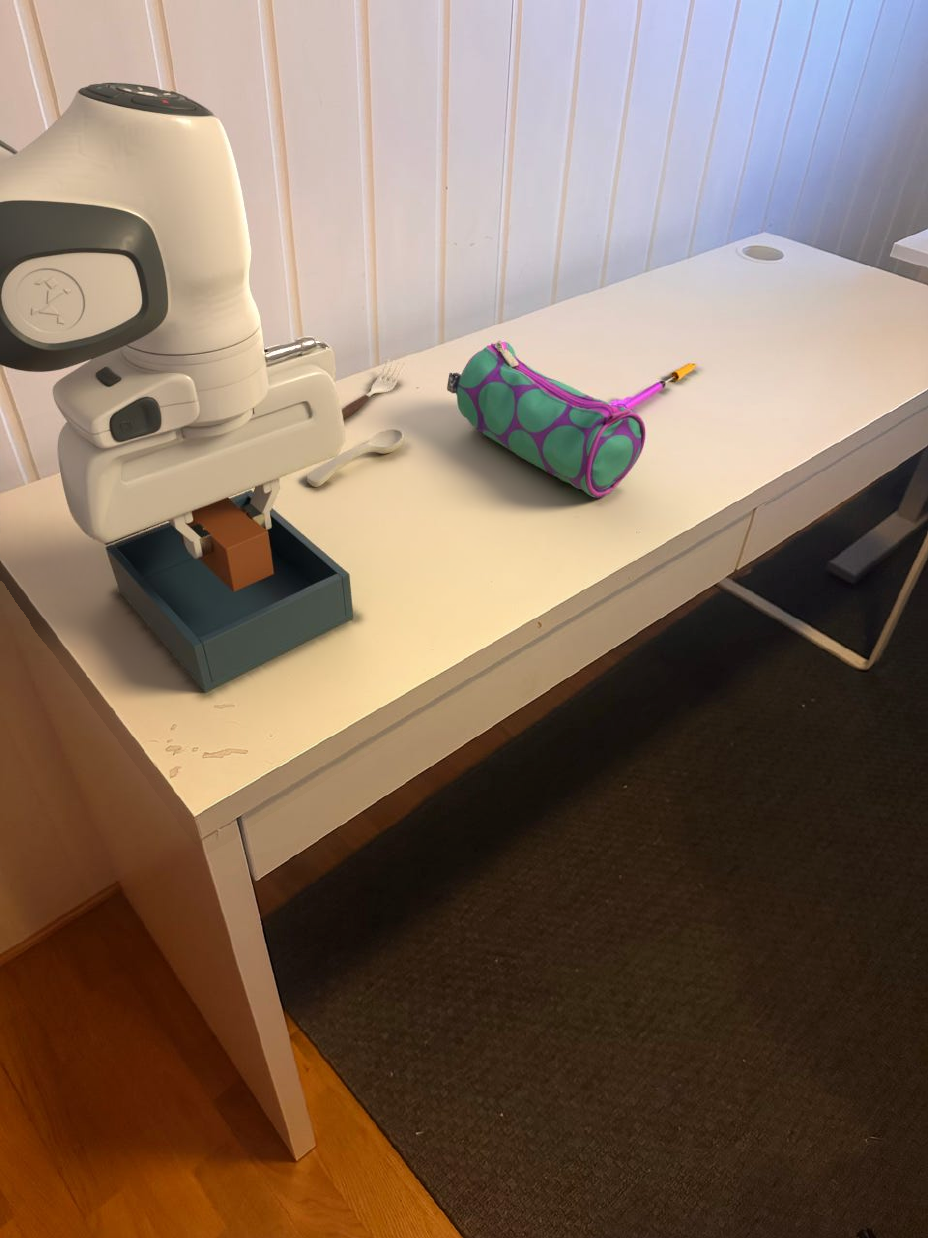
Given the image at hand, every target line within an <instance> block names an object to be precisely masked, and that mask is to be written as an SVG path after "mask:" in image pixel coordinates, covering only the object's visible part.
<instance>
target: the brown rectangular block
mask: <svg viewBox="0 0 928 1238" xmlns="http://www.w3.org/2000/svg"><path fill="white" fill-rule="evenodd" d="M229 498H230V497H228V498H225V499H223V500H220V501H217V502H215V503H212V504H210V505H207V506H204V507H202V508H199V509H196V510H194V511H191V512H192V517H193V521H192V522H190V523H188V524H187V523H186V524H187V525H188V526H189V527H192V526H195V525H197V524H201V525H202V526H203V527H204V530H207V531H208V532H209V533H210V534H211V537H212V544H211V545H212V546H213V548H214V552H212V553H209V554H207V555H205V556H202V557H199V559H200V560H201V561H202V562H203V563H204V564H205V565H206V566H207V567H208V568H209V569H210V570H211V571H212V572H213V573H215V574H216V575H217V576H218V577H219V578H220V579H221V580H222V581H223V582H224V583H225V584H226V585H227V586H228V587H229V588H230V589H231V590H232V591H233V592H235V591H238V590H240V589H242V588H244V587H246V586H248V585H251V584H253V583H255V582H257V581H259V580H262V579H264V578H266V577H268V576H270V575H273V574H274V571H273V564H272V557H271V550H270V543H269V536H268V531H267V530H265V529H264V528H263V527H262V526H261V525H260V524H258V523H257V522H256V521H255V520H254V519H252V518H251V517H250V516H248V514H247V513H245V512H244V511H243V510H242V509H241V508H240V507H238V506H237V505H236V504H235V503H234V502H233V501H231V500H230V499H229ZM180 534H181V533H180ZM181 539H182V543H183V544H184V545H185V542H184V538H183V534H181Z"/></svg>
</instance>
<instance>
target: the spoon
mask: <svg viewBox="0 0 928 1238" xmlns="http://www.w3.org/2000/svg"><path fill="white" fill-rule="evenodd" d="M404 436H405V435H404V433H403V432H402V431H401V430H399V429H393V428H392V429H391V428H390V429H385V430H383V431H380V432H378V433H376V434H374V435H373V436H372V437H371V438H370V440H369V441H367V442H365V443H362V444H360V445H357V446H355V447H353V448H351V449H348V450H346V451H343V452H342V453H339V455H337V456H336V457H333V458H331V459H329V461H327V462H326V463H323V464H322V465H321V466H318V467H317V468H314V469H313V470H312V471H310V472H309V473H307V475H306V481H307V483H308V484H309V485H310V486H311V487H313V488H318V487H321V486H322V485H323V484H325V482H327V481H328V480H329V479H331V477H332V476H334V474H336V473H337V472H338V471H340V470H341V469H342V468H344V467H345V466H346V465H347V464H349V463H351V462H352V461H354V460H355V459H357V458H359V457H360V456H362V455H364V454H367V453H378V454H383V455H384V454H389V453H392V452H394V451H396V450H397V449H399V448H400V447H401V446H402V445H403V443H404V440H405V437H404Z"/></svg>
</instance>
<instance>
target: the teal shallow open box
mask: <svg viewBox="0 0 928 1238" xmlns="http://www.w3.org/2000/svg"><path fill="white" fill-rule="evenodd" d="M253 492H254V490H252V489H249V490H246V491H244V492H241V493H239V494H236V495H234V496H231V497H228V498H229V499H230V500H231V501H233V502H234V503H235V504H236V505H237V506H238V507H240V508H241V507H244V506H246V505H248V504H250V502H251V498H252V495H253ZM269 512H270V519H271V528H270V529H268V530H267V531H268V536H269V543H270V550H271V557H272V564H273V571H274V574H273V575H270V576H268V577H266V578H264V579H262V580H259V581H257V582H255V583H253V584H251V585H248V586H246V587H244V588H242V589H240V590H238V591H235V592H233V591H232V590H231V589H230V588H229V587H228V586H227V585H226V584H225V583H224V582H223V581H222V580H221V579H220V578H219V577H218V576H217V575H216V574H215V573H213V572H212V571H211V570H210V569H209V568H208V567H207V566H206V565H205V564H204V563H203V562H202V561H201V560H200V559H199V558H197V559H195V558H194V557H193V556H192V555H191V554H190V553H189V552H188V550H187V548H186V546H185V545H184V544H183V543H182V539H181V534H180V532H179V531H178V530H177V529H176V528H175V527H174V526H173V525H172V524H171V523H170V522H169V521H167V522H165V523H162V524H159V525H157V526H154V527H152V528H149V529H147V530H144V531H142V532H139V533H136V534H134V535H131V536H129V537H126V538H124V539H121V540H119V541H116V542H114V543H111V544H108V545H106V546H105V551H106V553H107V557H108V560H109V563H110V567H111V569H112V572H113V576H114V580H115V582H116V585H117V589H118V591H119V593H120V594H121V595H122V596H123V598H124V599H125V600H126V601H127V602H128V604H129V605H130V606H131V608H133V609H134V611H135V612H136V613H137V614H138V615H139V616H140V618H141V619H142V620H143V621H144V622H145V624H147V626H148V627H149V628H150V629H151V631H152V632H153V633H154V634H155V636H157V638H158V639H159V640H160V642H162V643H163V645H164V646H165V647H166V648H167V649H168V651H169V652H170V653H171V654H172V655H173V656H174V658H175V659H176V660H177V662H178V663H180V665H182V668H183V669H185V671H186V672H187V673H188V675H190V677H191V678H192V679H193V680H194V681H195V682H196V684H197V685H198V686H199V687H200V689H201V690H202V691H203V692H204V693H208V692H210V691H212V690H214V689H217V688H218V687H221V686H222V685H224V684H226V683H228V682H230V681H232V680H234V679H236V678H238V677H240V676H243V675H244V674H246V673H248V672H250V671H251V670H254V669H256V668H258V667H260V666H262V665H264V664H266V663H268V662H270V661H273V660H274V659H277V658H279V657H280V656H282V655H284V654H286V653H288V652H290V651H292V650H294V649H296V648H298V647H300V646H302V645H304V644H306V643H308V642H310V641H312V640H314V639H316V638H319V637H320V636H322V635H324V634H326V633H328V632H329V631H331V630H333V629H335V628H338V627H339V626H342V625H344V624H346V623H348V622H350V621H352V620H353V619H354V609H353V607H354V606H353V597H352V586H351V575H350V573H349V571H346V570H345V569H344V568H343V567H342V566H341V565H340V564H338V563H337V562H336V561H335V560H334V559H333V558H331V556H329V555H328V554H327V553H325V552H324V551H323V550H322V549H321V548H320V547H319V546H317V545H316V544H315V543H314V542H313V541H311V539H309V538H308V537H307V536H306V535H304V534H303V533H302V532H301V531H300V530H299V529H297V528H296V527H295V526H294V525H293V524H292V523H291V522H289V521H288V520H287V519H286V518H285V517H284V516H283V515H281V514H280V513H278V511H277V510H275V509H274V508H273V507H272V509H271V511H269Z"/></svg>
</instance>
